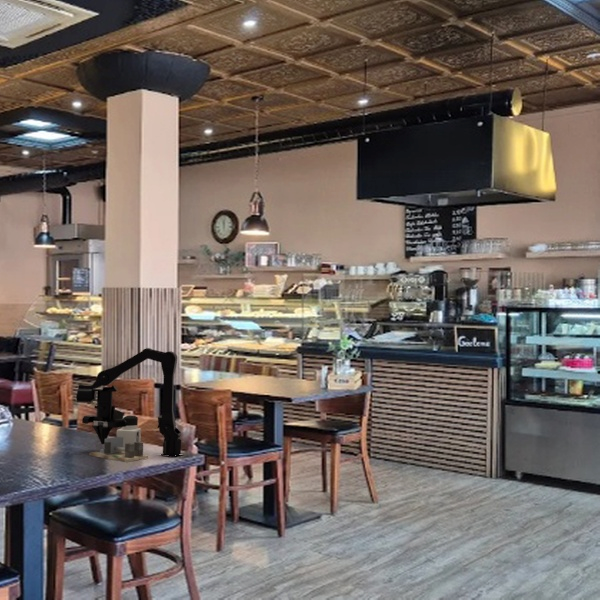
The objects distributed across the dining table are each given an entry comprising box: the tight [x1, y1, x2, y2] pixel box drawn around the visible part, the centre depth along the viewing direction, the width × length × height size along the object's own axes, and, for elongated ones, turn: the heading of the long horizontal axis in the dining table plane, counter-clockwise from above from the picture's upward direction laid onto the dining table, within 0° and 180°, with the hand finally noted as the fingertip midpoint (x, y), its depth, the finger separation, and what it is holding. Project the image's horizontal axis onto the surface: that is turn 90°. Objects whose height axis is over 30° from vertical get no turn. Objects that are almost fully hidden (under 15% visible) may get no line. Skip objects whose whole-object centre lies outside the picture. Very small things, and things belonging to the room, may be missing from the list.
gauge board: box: [89, 442, 149, 463], centre depth 299 cm, size 20×11×6 cm, turn 55°
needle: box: [103, 442, 111, 454], centre depth 296 cm, size 2×2×4 cm
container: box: [116, 414, 142, 448], centre depth 319 cm, size 8×8×13 cm
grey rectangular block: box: [99, 436, 125, 454], centre depth 298 cm, size 8×9×6 cm
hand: (103, 443), depth 304 cm, fingers closed
